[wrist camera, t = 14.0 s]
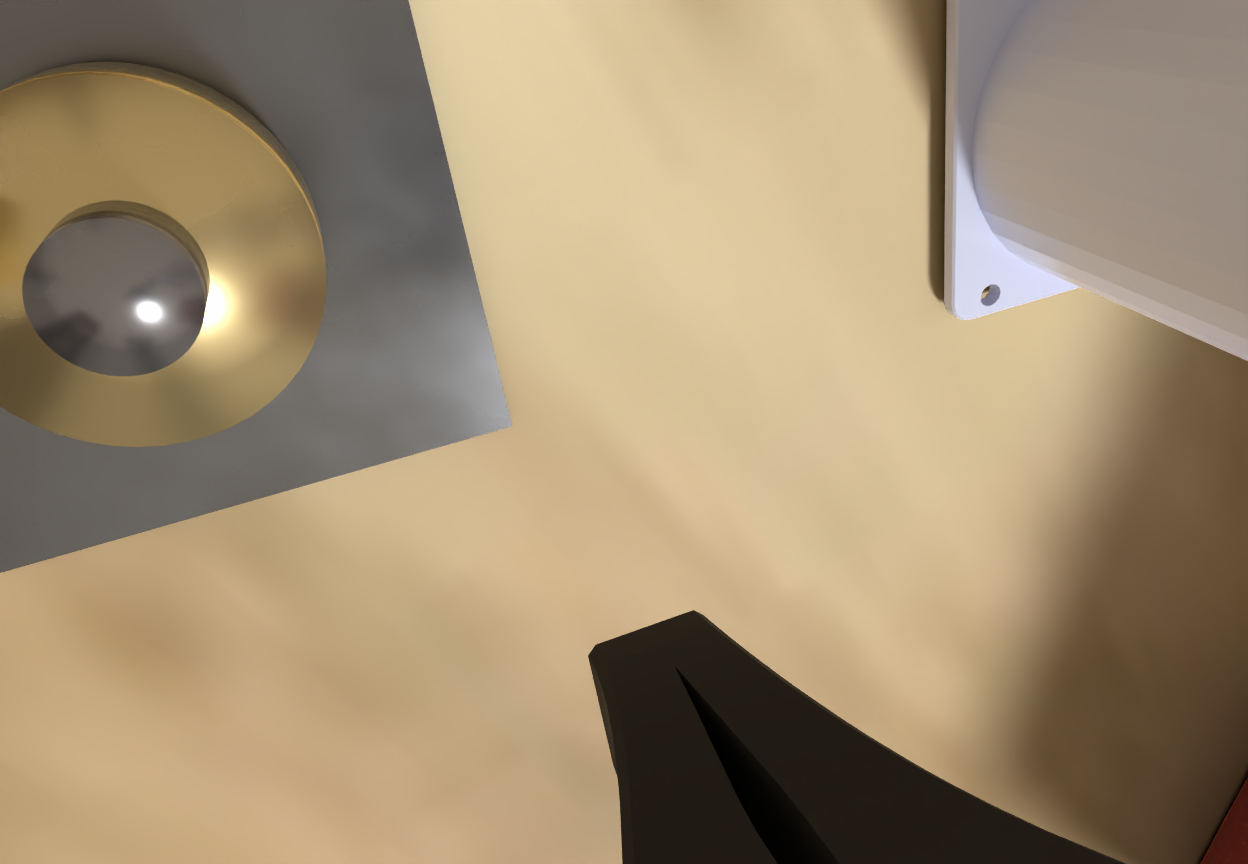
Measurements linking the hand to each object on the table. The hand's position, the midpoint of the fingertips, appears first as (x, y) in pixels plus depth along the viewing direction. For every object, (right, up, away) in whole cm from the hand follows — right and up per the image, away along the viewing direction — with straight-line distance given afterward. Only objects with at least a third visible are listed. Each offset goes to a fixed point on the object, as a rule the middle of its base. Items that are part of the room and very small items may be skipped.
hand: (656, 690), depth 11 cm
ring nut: (-11, +7, +5) cm, 13 cm away
